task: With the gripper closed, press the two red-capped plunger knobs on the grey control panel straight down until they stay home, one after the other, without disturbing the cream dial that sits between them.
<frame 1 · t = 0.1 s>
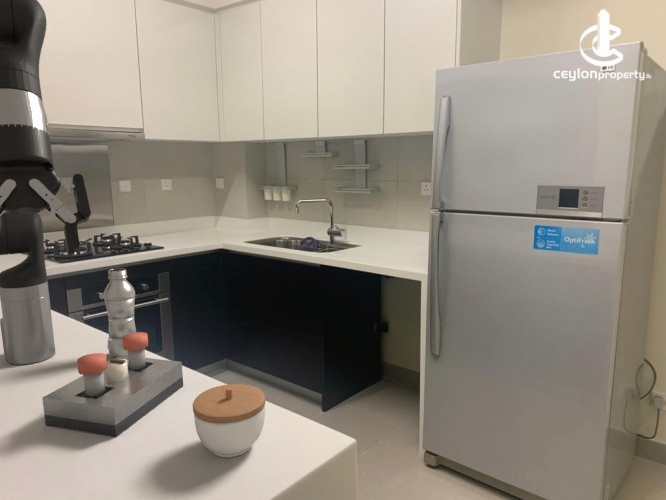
hand: (31, 258, 60), 31 cm above the counter, tool tilted 20°, fingers open, 8 cm apart
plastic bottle: (124, 356, 111), on the counter
dial: (117, 378, 88), point 5 cm above the counter, touching panel
knob inner: (136, 351, 92), point 8 cm above the counter, slide at 0.0 cm
lidded jar: (231, 447, 75), on the counter
knob outer: (93, 375, 82), point 8 cm above the counter, slide at 0.0 cm
panel: (119, 404, 88), on the counter
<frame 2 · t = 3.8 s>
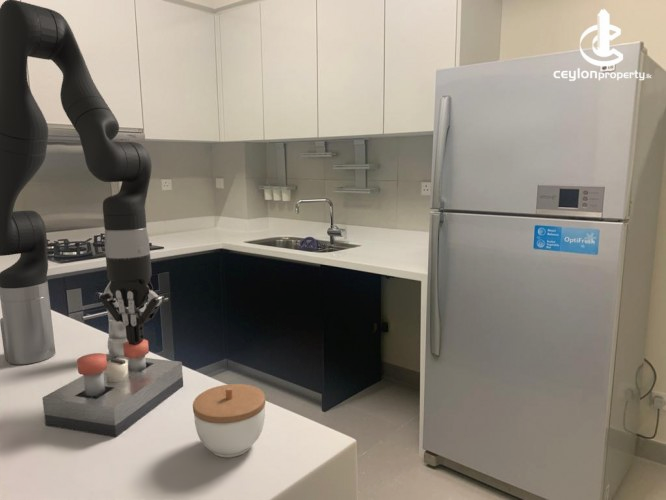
hand: (135, 343, 92), 10 cm above the counter, tool pointing down, fingers closed
knob inner: (136, 358, 93), point 7 cm above the counter, slide at 1.4 cm, touching gripper
everything else where it was.
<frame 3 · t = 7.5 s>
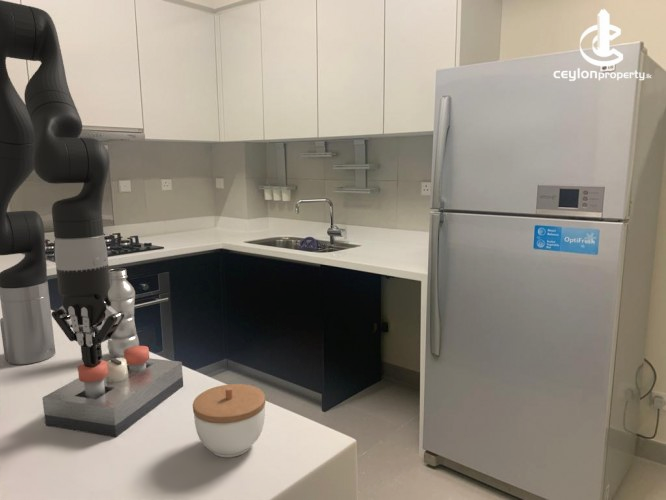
hand: (92, 365, 82), 10 cm above the counter, tool pointing down, fingers closed
knob inner: (137, 364, 93), point 5 cm above the counter, slide at 2.7 cm
knob outer: (94, 382, 82), point 7 cm above the counter, slide at 1.3 cm, touching gripper
everything else where it was.
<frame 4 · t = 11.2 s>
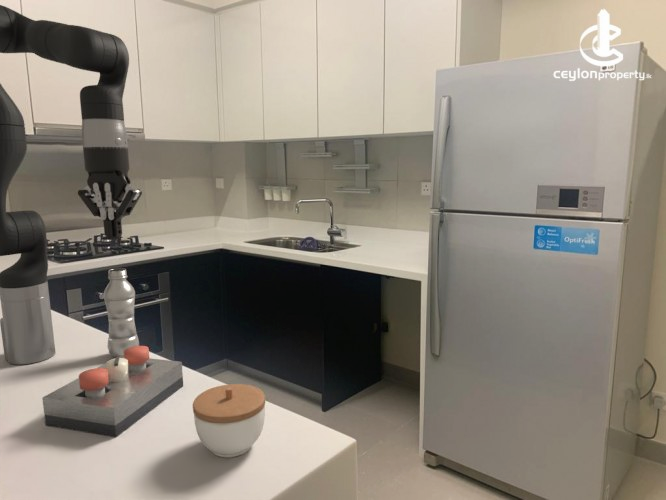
hand: (113, 239, 93), 29 cm above the counter, tool pointing down, fingers closed
knob outer: (95, 390, 82), point 5 cm above the counter, slide at 2.7 cm
everything else where it was.
at the end: knob inner slide at 2.7 cm; knob outer slide at 2.7 cm; dial moved 0.1 cm from its start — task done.
